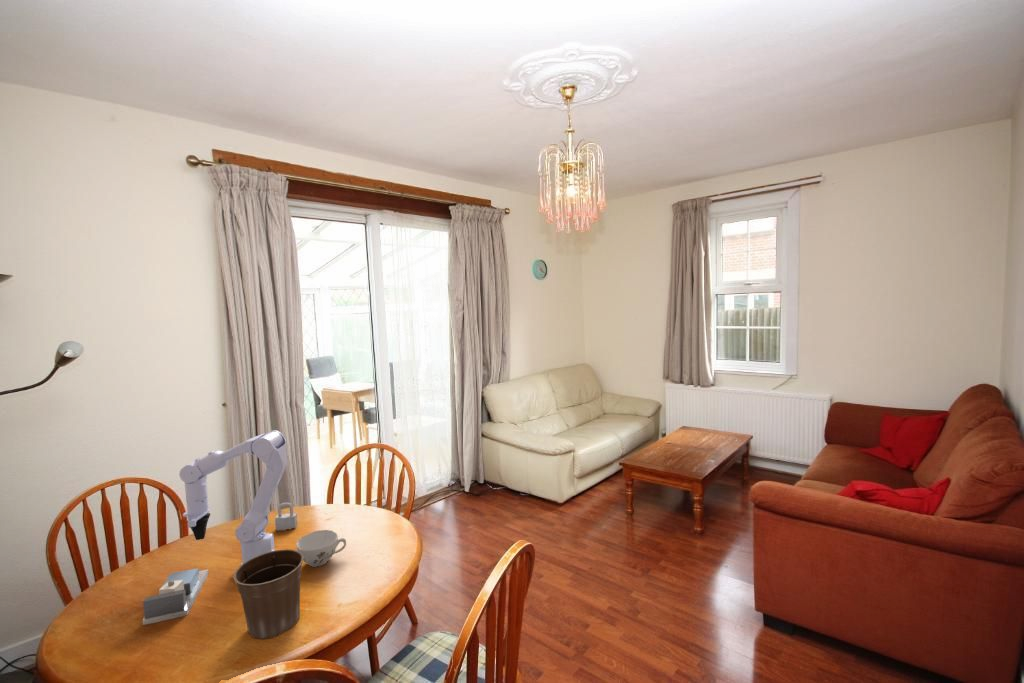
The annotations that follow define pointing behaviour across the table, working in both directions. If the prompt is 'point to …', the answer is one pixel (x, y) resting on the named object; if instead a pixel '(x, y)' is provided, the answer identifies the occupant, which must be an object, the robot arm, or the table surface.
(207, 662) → the table surface
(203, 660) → the table surface
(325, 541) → the teacup
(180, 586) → the block
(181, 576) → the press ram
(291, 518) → the padlock
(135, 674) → the table surface
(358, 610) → the table surface
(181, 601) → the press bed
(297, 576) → the plant pot
